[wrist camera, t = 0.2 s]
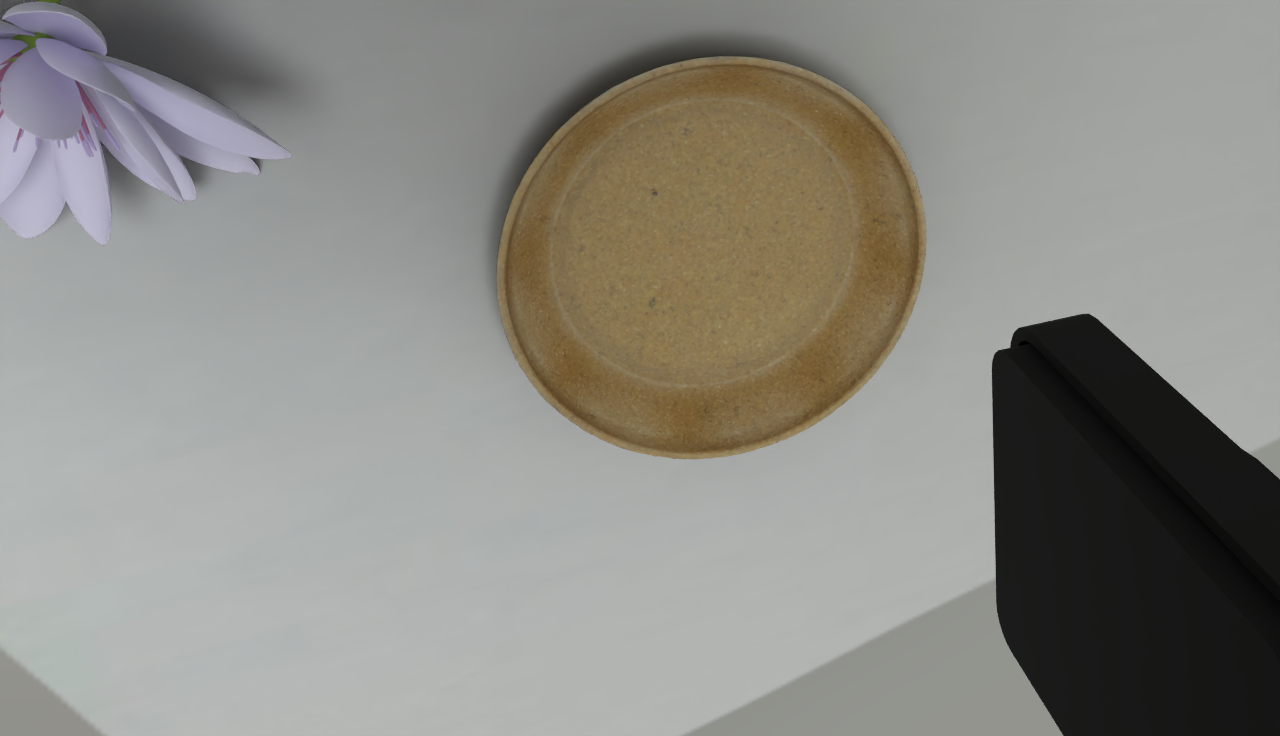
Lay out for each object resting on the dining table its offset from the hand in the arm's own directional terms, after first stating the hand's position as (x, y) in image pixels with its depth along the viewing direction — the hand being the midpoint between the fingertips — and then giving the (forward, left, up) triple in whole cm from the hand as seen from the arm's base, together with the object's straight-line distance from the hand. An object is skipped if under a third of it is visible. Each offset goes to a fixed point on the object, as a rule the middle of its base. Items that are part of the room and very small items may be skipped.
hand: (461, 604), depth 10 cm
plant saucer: (+11, +7, -32) cm, 34 cm away
